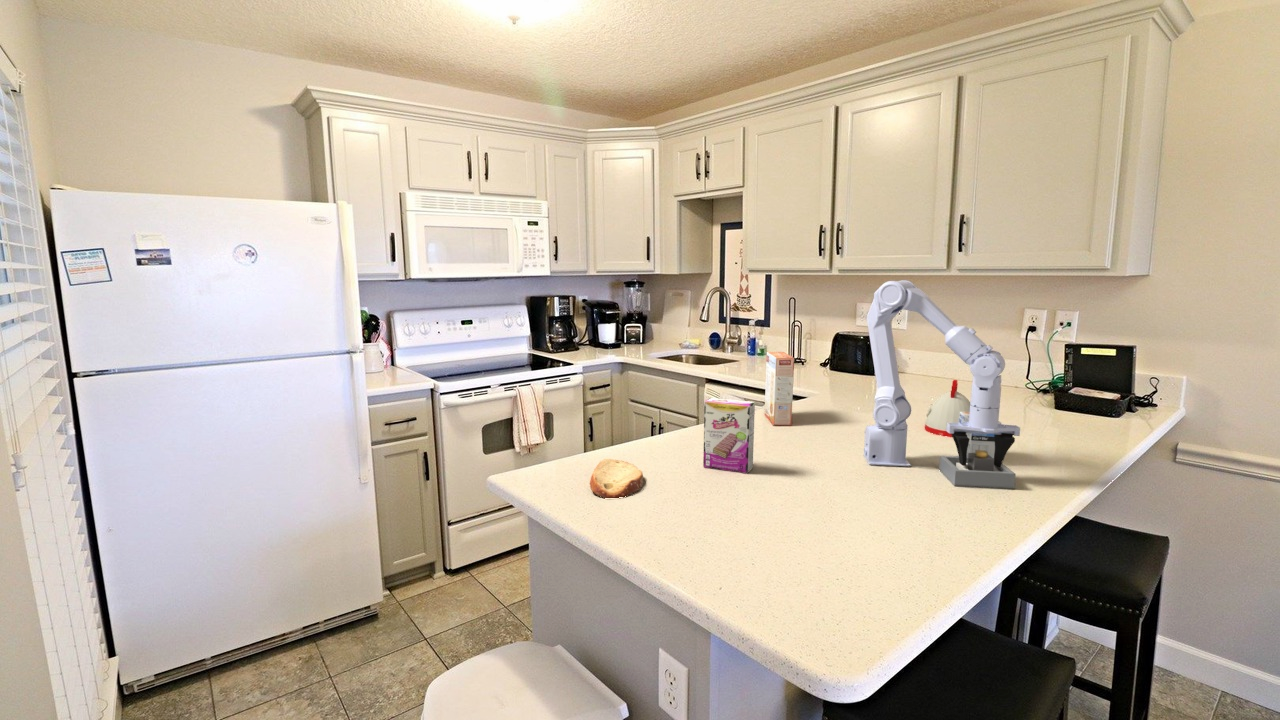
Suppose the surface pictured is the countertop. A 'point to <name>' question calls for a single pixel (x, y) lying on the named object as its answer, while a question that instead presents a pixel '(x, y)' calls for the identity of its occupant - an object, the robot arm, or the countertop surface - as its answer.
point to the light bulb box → (978, 438)
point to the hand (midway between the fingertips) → (979, 465)
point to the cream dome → (946, 411)
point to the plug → (980, 461)
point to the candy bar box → (728, 434)
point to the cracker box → (779, 388)
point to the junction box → (976, 475)
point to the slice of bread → (615, 479)
